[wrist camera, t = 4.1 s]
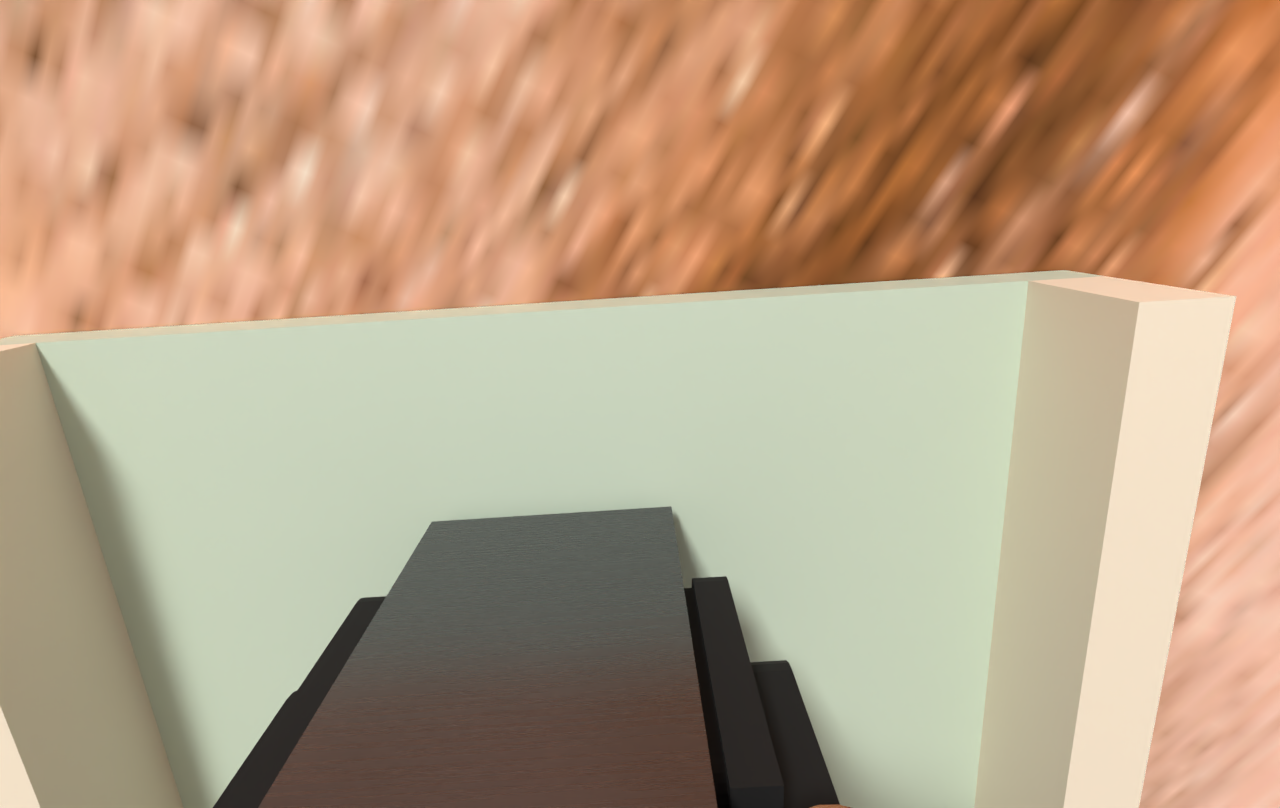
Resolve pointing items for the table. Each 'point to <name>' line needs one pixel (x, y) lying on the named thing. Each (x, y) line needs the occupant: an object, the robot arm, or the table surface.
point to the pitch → (625, 479)
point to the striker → (518, 676)
